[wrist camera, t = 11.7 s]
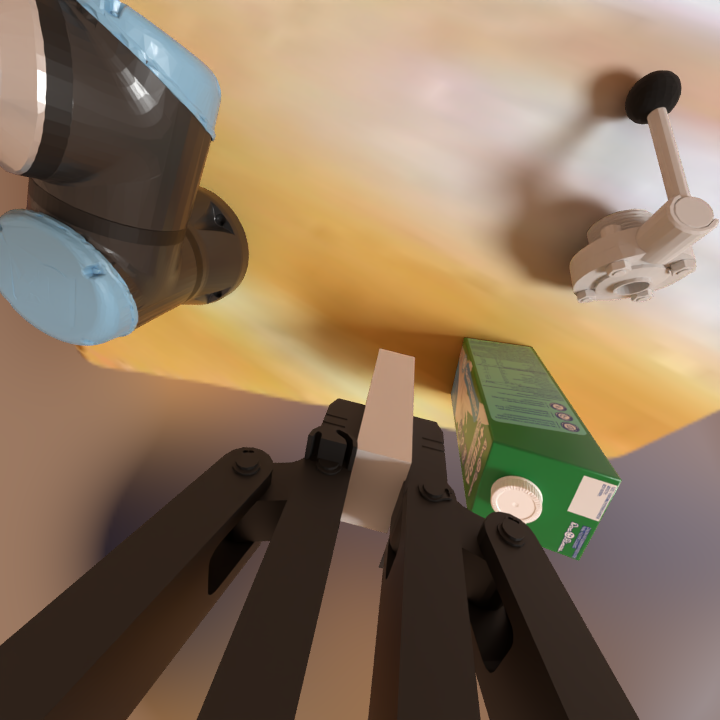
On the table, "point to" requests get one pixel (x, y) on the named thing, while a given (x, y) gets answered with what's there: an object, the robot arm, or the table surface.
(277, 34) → the table surface
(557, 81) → the table surface
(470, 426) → the milk carton
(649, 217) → the valve
